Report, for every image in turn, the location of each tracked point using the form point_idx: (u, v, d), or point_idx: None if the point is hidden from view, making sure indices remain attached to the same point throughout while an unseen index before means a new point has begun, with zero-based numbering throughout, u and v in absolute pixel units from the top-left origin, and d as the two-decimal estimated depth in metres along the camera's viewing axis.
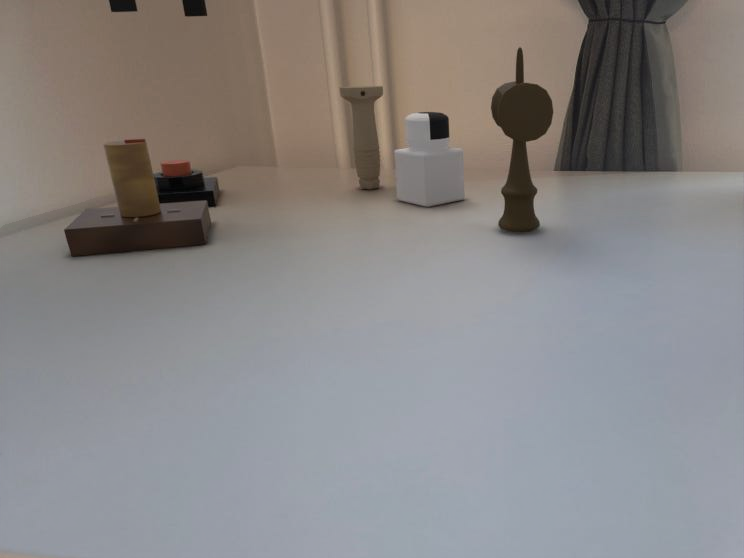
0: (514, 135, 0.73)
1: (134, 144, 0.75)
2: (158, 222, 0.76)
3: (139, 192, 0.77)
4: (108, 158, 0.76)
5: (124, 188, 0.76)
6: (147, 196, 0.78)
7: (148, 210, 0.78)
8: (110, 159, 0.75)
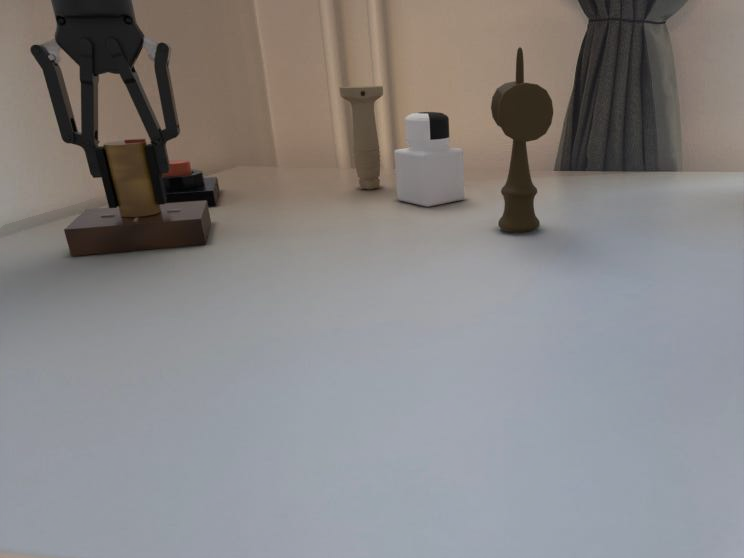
0: (514, 135, 0.73)
1: (134, 144, 0.75)
2: (158, 222, 0.76)
3: (139, 192, 0.77)
4: (108, 158, 0.76)
5: (124, 188, 0.76)
6: (147, 196, 0.78)
7: (148, 210, 0.78)
8: (110, 159, 0.75)
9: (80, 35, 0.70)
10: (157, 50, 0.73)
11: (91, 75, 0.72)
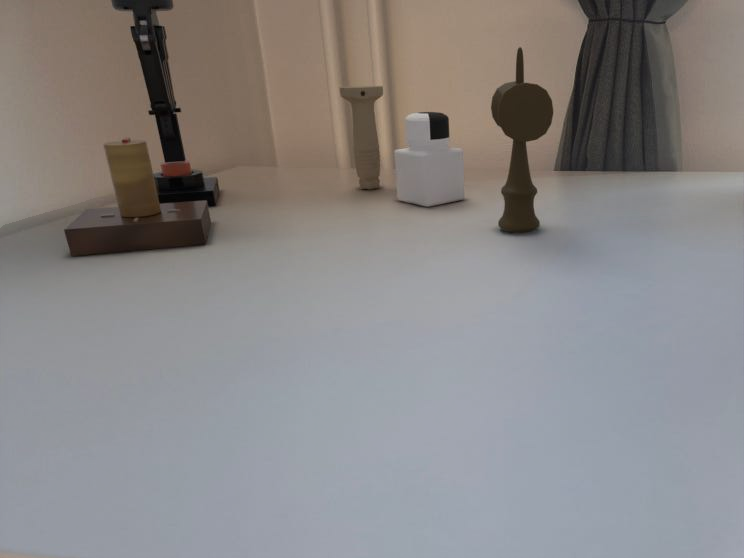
0: (514, 135, 0.73)
1: (143, 141, 0.78)
2: (158, 222, 0.76)
3: None
4: (137, 157, 0.76)
5: (152, 185, 0.78)
6: None
7: None
8: (140, 157, 0.76)
9: (153, 20, 0.90)
10: None
11: (166, 54, 0.93)
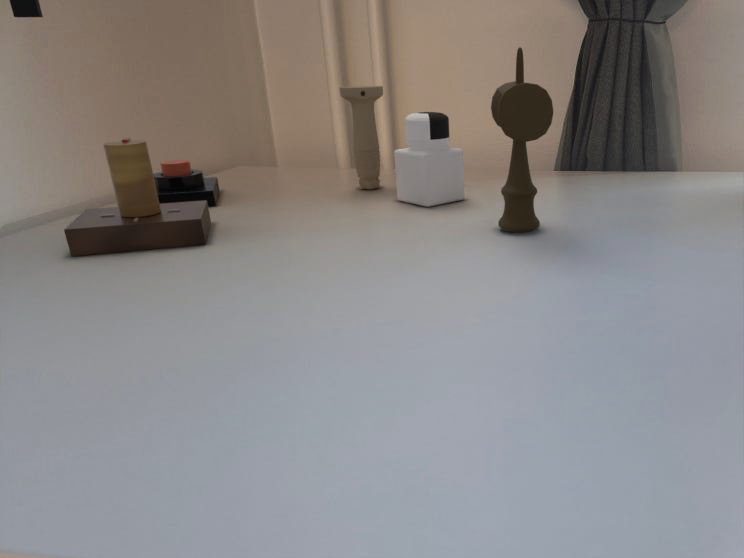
0: (514, 135, 0.73)
1: (143, 141, 0.78)
2: (158, 222, 0.76)
3: None
4: (137, 157, 0.76)
5: (152, 185, 0.78)
6: None
7: None
8: (140, 157, 0.76)
9: None
10: None
11: None
